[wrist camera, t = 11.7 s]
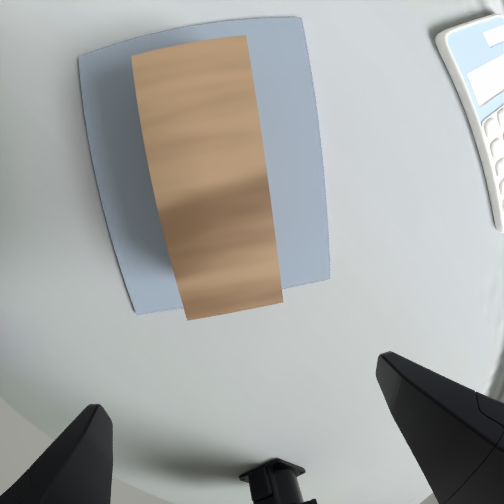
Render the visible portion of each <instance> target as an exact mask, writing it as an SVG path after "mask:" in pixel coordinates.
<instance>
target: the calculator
mask: <svg viewBox="0 0 504 504" xmlns="http://www.w3.org/2000/svg"><path fill="white" fill-rule="evenodd" d="M435 42H436V45H437V48H438V50H439V53H440V55H441V57H442V59H443V61H444V63H445V65H446V67H447V69H448V72H449V74H450V76H451V78H452V80H453V83H454V85H455V87H456V90H457V92H458V94H459V97H460V99H461V102H462V104H463V107H464V110H465V112H466V115H467V118H468V120H469V123H470V126H471V129H472V132H473V135H474V138H475V141H476V145H477V148H478V151H479V155H480V158H481V162H482V166H483V169H484V173H485V177H486V182H487V186H488V190H489V195H490V200H491V205H492V210H493V216H494V221H495V226H496V229H497V230H498V231H500V232H502V233H504V16H503V15H501V14H492V15H488V16H485V17H482V18H478V19H475V20H472V21H469V22H466V23H463V24H460V25H457V26H454V27H451V28H449V29H446V30H444V31H442V32H440V33H438V34H437V35H436V37H435Z"/></svg>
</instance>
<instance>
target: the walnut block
mask: <svg viewBox="0 0 504 504" xmlns="http://www.w3.org/2000/svg"><path fill="white" fill-rule="evenodd" d="M131 59H132V68H133V76H134V83H135V90H136V97H137V104H138V110H139V117H140V123H141V129H142V134H143V140H144V146H145V151H146V156H147V161H148V166H149V171H150V176H151V181H152V186H153V190H154V195H155V200H156V204H157V208H158V213H159V217H160V221H161V225H162V230H163V234H164V238H165V242H166V246H167V250H168V253H169V257H170V261H171V265H172V268H173V272H174V276H175V279H176V283H177V286H178V290H179V293H180V297H181V300H182V304H183V307H184V310H185V314H186V317H187V320H193V319H199V318H205V317H210V316H216V315H221V314H227V313H232V312H237V311H242V310H248V309H253V308H258V307H263V306H267V305H272V304H277V303H282V302H283V296H282V287H281V278H280V270H279V261H278V253H277V245H276V237H275V229H274V221H273V213H272V206H271V198H270V191H269V183H268V176H267V169H266V161H265V154H264V147H263V140H262V134H261V127H260V120H259V113H258V107H257V100H256V94H255V87H254V81H253V75H252V69H251V63H250V56H249V50H248V44H247V39H246V35H242V36H232V37H224V38H216V39H209V40H203V41H197V42H191V43H185V44H180V45H175V46H170V47H166V48H161V49H157V50H153V51H149V52H145V53H141V54H137V55H134V56H131Z"/></svg>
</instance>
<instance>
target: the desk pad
mask: <svg viewBox="0 0 504 504" xmlns="http://www.w3.org/2000/svg"><path fill="white" fill-rule="evenodd" d="M242 35H246V39H247V44H248V50H249V56H250V63H251V69H252V75H253V81H254V87H255V94H256V100H257V107H258V113H259V120H260V127H261V134H262V140H263V147H264V154H265V161H266V169H267V176H268V183H269V191H270V198H271V206H272V213H273V221H274V229H275V237H276V245H277V253H278V261H279V270H280V278H281V287H282V289H285V288H290V287H295V286H300V285H304V284H309V283H314V282H318V281H323V280H328V279H330V255H329V234H328V217H327V203H326V190H325V178H324V167H323V157H322V147H321V138H320V130H319V121H318V114H317V106H316V99H315V92H314V85H313V79H312V72H311V66H310V60H309V54H308V49H307V43H306V38H305V33H304V27H303V22H302V18H300V17H284V18H256V19H242V20H231V21H222V22H214V23H207V24H200V25H194V26H188V27H182V28H177V29H172V30H167V31H163V32H158V33H154V34H150V35H146V36H142V37H138V38H134V39H131V40H127V41H124V42H120V43H117V44H114V45H111V46H107V47H104V48H101V49H98V50H96V51H93V52H90V53H87V54H84V55H82V56H79V57H78V59H79V72H80V82H81V91H82V100H83V108H84V115H85V121H86V128H87V134H88V140H89V146H90V151H91V156H92V161H93V166H94V171H95V176H96V180H97V185H98V189H99V193H100V198H101V202H102V206H103V210H104V214H105V217H106V221H107V225H108V229H109V232H110V236H111V239H112V243H113V246H114V249H115V253H116V256H117V259H118V262H119V265H120V269H121V272H122V275H123V278H124V281H125V284H126V287H127V290H128V292H129V295H130V298H131V301H132V304H133V306H134V309H135V312H136V314H137V315H141V314H147V313H153V312H160V311H166V310H172V309H178V308H184V307H183V304H182V300H181V297H180V293H179V290H178V286H177V283H176V279H175V276H174V272H173V268H172V265H171V261H170V257H169V253H168V250H167V246H166V242H165V238H164V234H163V230H162V225H161V221H160V217H159V213H158V208H157V204H156V200H155V195H154V190H153V186H152V181H151V176H150V171H149V166H148V161H147V156H146V151H145V146H144V140H143V134H142V129H141V123H140V117H139V110H138V104H137V97H136V90H135V83H134V76H133V68H132V59H131V56H134V55H137V54H141V53H145V52H149V51H153V50H157V49H161V48H166V47H170V46H175V45H180V44H185V43H191V42H197V41H203V40H209V39H216V38H224V37H232V36H242Z"/></svg>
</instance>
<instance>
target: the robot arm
mask: <svg viewBox="0 0 504 504" xmlns="http://www.w3.org/2000/svg"><path fill="white" fill-rule="evenodd" d="M376 378H377V380H378V383H379V385H380V388H381V390H382V392H383V395H384V397H385V400H386V402H387V405H388V407H389V409H390V412H391V414H392V416H393V418H394V420H395V422H396V424H397V425H398V427H399V429H400V431H401V433H402V434H403V436H404V438H405V440H406V442H407V444H408V445H409V447H410V449H411V451H412V453H413V455H414V456H415V458H416V460H417V462H418V464H419V466H420V468H421V470H422V472H423V473H424V475H425V477H426V479H427V481H428V483H429V485H430V487H431V489H432V491H433V493H434V495H435V497H436V499H437V501H438V503H439V504H504V403H503V402H500V401H497V400H495V399H492V398H490V397H487V396H485V395H483V394H481V393H478V392H475V391H474V390H472V389H470V388H467V387H465V386H463V385H461V384H459V383H457V382H454V381H452V380H450V379H448V378H446V377H444V376H442V375H440V374H437V373H435V372H433V371H431V370H429V369H427V368H425V367H423V366H421V365H419V364H416V363H414V362H412V361H410V360H408V359H406V358H404V357H402V356H400V355H398V354H396V353H394V352H391V351H388V352H386V353H383V354H380V355H379V356H378V361H377V368H376ZM112 469H113V425H112V421H111V419H110V417H109V416H108V414H107V413H106V411H105V410H104V408H103V407H102V406H101V405H100V404H90V405H88V406H87V407H86V408H85V409H84V410H83V411H82V412H81V413H80V414H79V415H78V416H77V417H76V418H75V420H74V421H73V422H72V423H71V424H70V425H69V426H68V427H67V428H66V429H65V430H64V431H63V432H62V433H61V434H60V435H59V436H58V438H57V439H56V440H55V441H54V442H53V443H52V444H51V445H50V446H49V447H48V448H47V449H46V450H45V452H44V453H43V454H42V455H41V456H40V457H39V458H38V459H37V460H36V461H35V462H34V463H33V464H32V465H31V467H30V468H29V469H28V470H27V471H26V472H25V473H24V474H23V475H22V476H21V477H20V478H19V479H18V480H17V481H16V482H15V483H14V484H13V485H12V486H11V487H10V488H9V489H8V490H7V491H5V492H4V493H3V494H2V495H1V496H0V504H110V497H111V482H112ZM305 472H306V471H305V469H304V468H301V467H298V466H295V465H293V464H290V463H288V462H285V461H283V460H280V459H277V460H274V461H272V462H270V463H268V464H266V465H264V466H261V467H259V468H257V469H255V470H253V471H250V472H248V473H246V474H244V475H241V476H239V479H240V480H241V481H244V482H247V483H249V486H250V492H251V498H252V501H253V503H254V504H317V501H316V499H312V500H310V501H306V502H304V501H303V498H302V495H301V491H300V488H299V484H298V481H297V476H299V475H301V474H303V473H305Z"/></svg>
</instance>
